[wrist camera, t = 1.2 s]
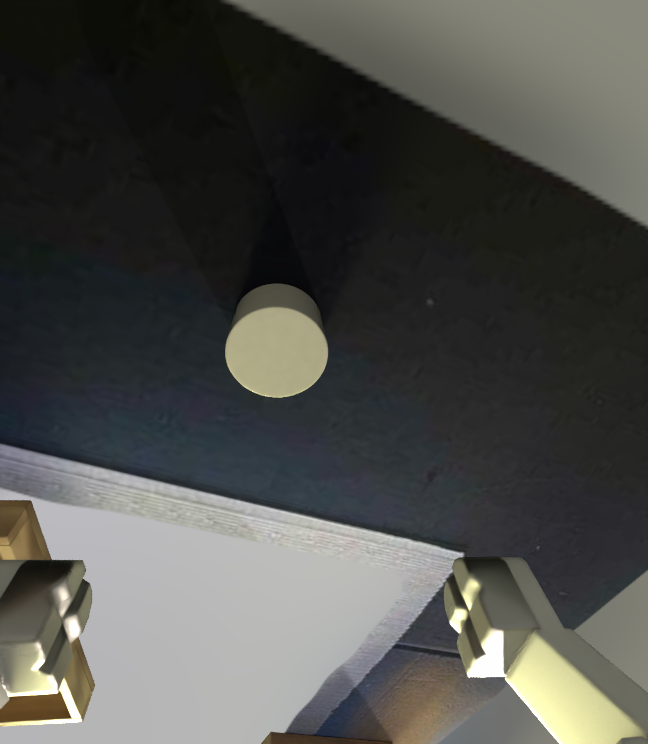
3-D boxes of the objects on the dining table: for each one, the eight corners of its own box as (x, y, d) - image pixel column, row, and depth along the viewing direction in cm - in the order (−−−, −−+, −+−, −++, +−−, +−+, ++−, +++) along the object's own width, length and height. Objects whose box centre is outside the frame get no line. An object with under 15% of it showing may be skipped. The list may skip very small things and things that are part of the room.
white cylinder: (231, 280, 19) (223, 303, 17) (326, 286, 20) (333, 310, 17) (232, 363, 21) (226, 396, 19) (318, 367, 22) (323, 399, 19)
